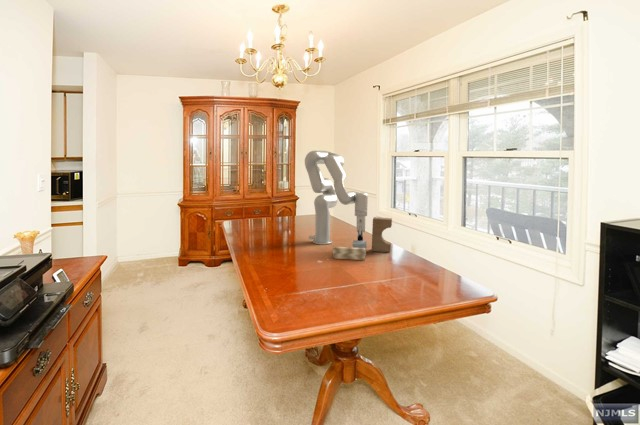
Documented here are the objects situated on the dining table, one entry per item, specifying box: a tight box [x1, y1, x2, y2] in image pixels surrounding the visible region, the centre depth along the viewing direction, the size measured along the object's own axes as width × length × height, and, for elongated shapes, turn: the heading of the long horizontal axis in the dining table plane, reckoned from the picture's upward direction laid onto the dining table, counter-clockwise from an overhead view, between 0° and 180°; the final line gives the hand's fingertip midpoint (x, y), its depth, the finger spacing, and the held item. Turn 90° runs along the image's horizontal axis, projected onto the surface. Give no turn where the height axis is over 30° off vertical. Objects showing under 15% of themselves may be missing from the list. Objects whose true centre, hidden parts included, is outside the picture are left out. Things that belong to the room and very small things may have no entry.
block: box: [352, 239, 367, 255], centre depth 216 cm, size 8×8×6 cm
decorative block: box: [371, 216, 393, 253], centre depth 218 cm, size 11×6×20 cm, turn 75°
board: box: [332, 246, 367, 261], centre depth 202 cm, size 18×3×6 cm, turn 81°
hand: (360, 242), depth 222 cm, fingers closed
